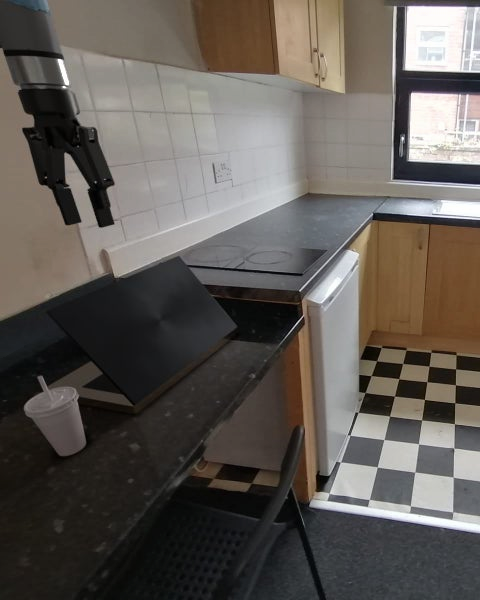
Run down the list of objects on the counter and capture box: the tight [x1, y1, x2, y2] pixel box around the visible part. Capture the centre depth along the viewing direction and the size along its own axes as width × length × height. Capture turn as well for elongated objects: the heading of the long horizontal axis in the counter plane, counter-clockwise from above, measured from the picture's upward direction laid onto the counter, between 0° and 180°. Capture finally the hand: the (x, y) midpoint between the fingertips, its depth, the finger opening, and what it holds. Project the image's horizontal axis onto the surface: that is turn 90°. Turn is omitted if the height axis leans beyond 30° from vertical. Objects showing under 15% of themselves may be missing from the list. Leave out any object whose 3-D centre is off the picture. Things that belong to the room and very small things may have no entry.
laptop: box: [41, 328, 237, 415], centre depth 87 cm, size 21×30×2 cm
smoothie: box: [23, 375, 87, 457], centre depth 62 cm, size 6×6×14 cm
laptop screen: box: [45, 255, 238, 406], centre depth 82 cm, size 21×30×1 cm
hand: (90, 224), depth 76 cm, fingers open, 7 cm apart
